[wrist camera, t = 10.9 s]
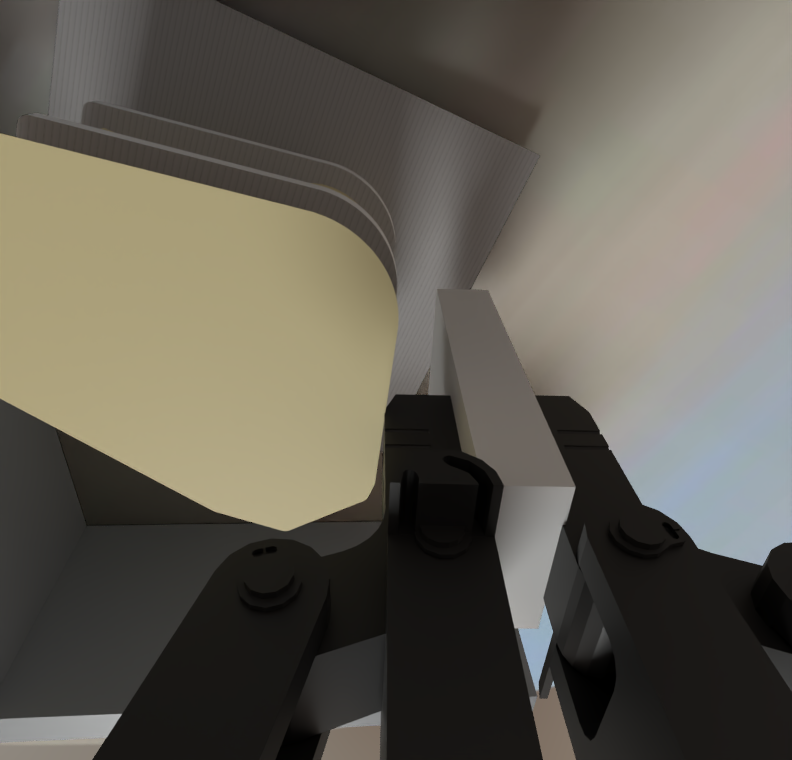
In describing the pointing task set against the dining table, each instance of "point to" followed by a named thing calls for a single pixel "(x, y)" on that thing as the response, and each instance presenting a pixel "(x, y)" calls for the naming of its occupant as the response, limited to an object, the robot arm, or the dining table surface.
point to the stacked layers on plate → (233, 252)
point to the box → (101, 591)
